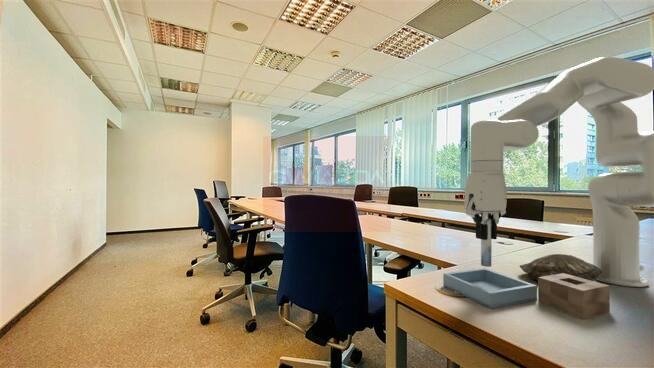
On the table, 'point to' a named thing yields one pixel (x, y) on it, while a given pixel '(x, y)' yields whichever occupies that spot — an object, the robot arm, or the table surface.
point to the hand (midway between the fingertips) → (486, 238)
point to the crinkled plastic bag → (561, 267)
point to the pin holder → (574, 295)
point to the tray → (490, 287)
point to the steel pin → (487, 246)
